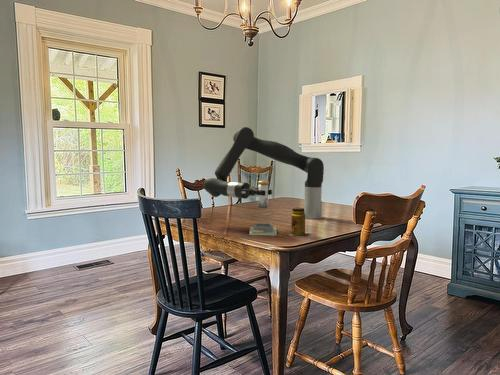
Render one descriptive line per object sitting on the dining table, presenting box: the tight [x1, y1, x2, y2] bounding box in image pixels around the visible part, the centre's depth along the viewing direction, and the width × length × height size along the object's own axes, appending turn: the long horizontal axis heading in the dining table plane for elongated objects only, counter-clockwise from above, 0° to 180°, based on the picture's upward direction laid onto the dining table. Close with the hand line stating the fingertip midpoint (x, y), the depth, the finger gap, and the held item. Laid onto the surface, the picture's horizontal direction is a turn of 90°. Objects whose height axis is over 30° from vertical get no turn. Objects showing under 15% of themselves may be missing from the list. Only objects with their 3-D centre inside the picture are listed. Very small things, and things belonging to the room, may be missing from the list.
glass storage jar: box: [257, 180, 270, 209], centre depth 172 cm, size 5×5×12 cm
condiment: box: [288, 207, 310, 238], centre depth 169 cm, size 7×8×12 cm
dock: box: [248, 222, 278, 237], centre depth 173 cm, size 12×12×4 cm
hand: (268, 192), depth 170 cm, fingers closed on glass storage jar, 4 cm apart
